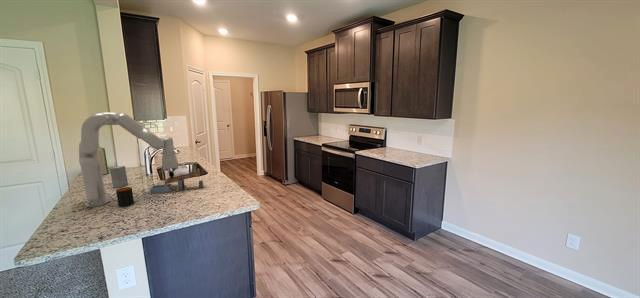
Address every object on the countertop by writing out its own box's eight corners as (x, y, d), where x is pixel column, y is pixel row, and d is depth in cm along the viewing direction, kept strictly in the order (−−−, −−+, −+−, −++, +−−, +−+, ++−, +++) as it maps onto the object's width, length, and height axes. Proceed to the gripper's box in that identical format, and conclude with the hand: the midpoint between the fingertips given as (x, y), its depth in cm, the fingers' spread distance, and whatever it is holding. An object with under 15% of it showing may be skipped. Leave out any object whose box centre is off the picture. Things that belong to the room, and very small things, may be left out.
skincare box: (121, 188, 208) (117, 168, 205) (112, 188, 208) (108, 168, 205) (128, 184, 216) (126, 165, 213) (120, 184, 216) (117, 165, 213)
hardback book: (108, 174, 248) (104, 148, 243) (99, 176, 242) (94, 149, 237) (101, 171, 258) (97, 146, 253) (92, 173, 252) (87, 148, 247)
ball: (167, 191, 198) (169, 187, 198) (162, 189, 197) (164, 185, 197) (168, 189, 202) (170, 185, 202) (163, 188, 200) (165, 184, 200)
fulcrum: (187, 186, 209) (186, 175, 208) (184, 191, 198) (183, 180, 196) (179, 187, 207) (177, 176, 206) (175, 192, 196) (174, 181, 195)
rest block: (202, 188, 204) (201, 182, 203) (199, 188, 204) (198, 182, 203) (203, 186, 209) (202, 180, 208) (199, 186, 208) (199, 180, 208)
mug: (119, 209, 166) (117, 193, 164) (118, 204, 175) (115, 189, 173) (135, 206, 171) (133, 190, 169) (133, 201, 180) (131, 186, 178)
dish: (169, 192, 197) (169, 187, 196) (150, 194, 193) (149, 189, 192) (172, 188, 205) (171, 183, 204) (153, 190, 201) (153, 185, 200)
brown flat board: (202, 170, 217) (200, 165, 216) (199, 175, 201) (197, 170, 200) (169, 178, 211) (168, 173, 210) (164, 184, 195) (162, 179, 194)
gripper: (156, 155, 198) (159, 179, 201) (178, 153, 202) (181, 177, 206) (159, 153, 205) (162, 176, 209) (180, 152, 209) (183, 174, 213)
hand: (171, 176), depth 207 cm, fingers closed
